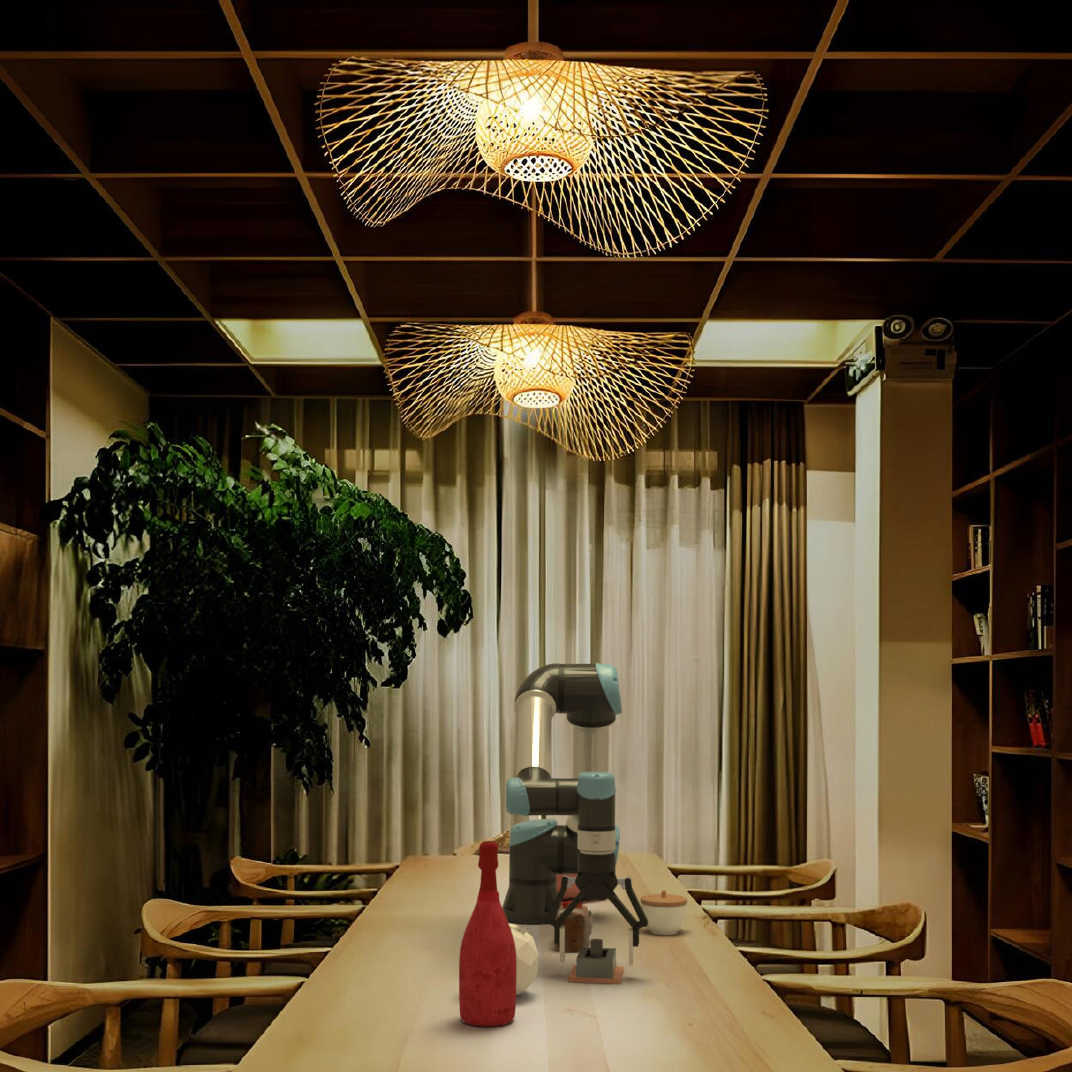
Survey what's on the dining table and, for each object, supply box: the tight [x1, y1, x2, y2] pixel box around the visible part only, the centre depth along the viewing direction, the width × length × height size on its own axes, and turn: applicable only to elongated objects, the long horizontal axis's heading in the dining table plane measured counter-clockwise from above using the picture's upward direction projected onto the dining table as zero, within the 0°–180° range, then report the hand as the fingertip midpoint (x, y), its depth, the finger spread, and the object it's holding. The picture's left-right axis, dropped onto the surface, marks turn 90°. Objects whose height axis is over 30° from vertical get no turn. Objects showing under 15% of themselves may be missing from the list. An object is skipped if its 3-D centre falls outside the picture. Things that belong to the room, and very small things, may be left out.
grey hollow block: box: [575, 946, 617, 978], centre depth 245 cm, size 10×7×4 cm
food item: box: [555, 899, 593, 953], centre depth 273 cm, size 14×8×10 cm, turn 176°
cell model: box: [557, 873, 586, 901], centre depth 331 cm, size 17×20×11 cm
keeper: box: [568, 938, 625, 985], centre depth 245 cm, size 10×10×7 cm
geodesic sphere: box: [509, 923, 539, 996], centre depth 231 cm, size 14×14×14 cm
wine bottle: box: [458, 840, 517, 1028], centre depth 215 cm, size 10×10×30 cm
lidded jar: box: [640, 889, 688, 936], centre depth 288 cm, size 11×11×9 cm
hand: (596, 962), depth 245 cm, fingers open, 13 cm apart
